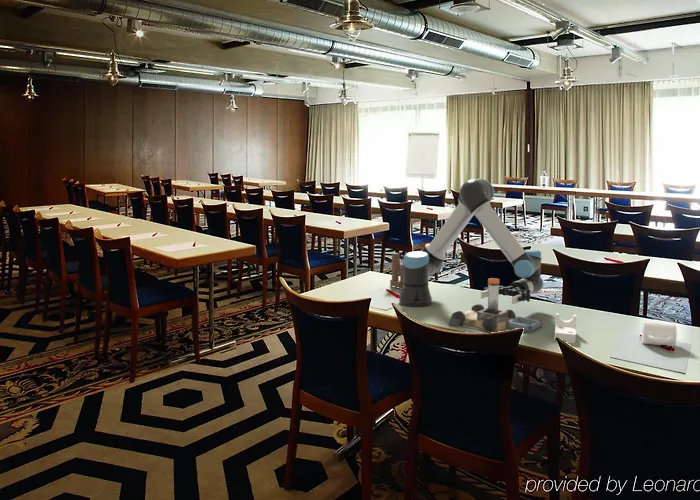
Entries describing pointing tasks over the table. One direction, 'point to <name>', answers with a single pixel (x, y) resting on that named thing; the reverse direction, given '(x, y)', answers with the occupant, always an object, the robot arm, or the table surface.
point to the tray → (524, 324)
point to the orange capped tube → (493, 295)
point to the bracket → (565, 329)
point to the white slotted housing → (659, 333)
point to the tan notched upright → (396, 272)
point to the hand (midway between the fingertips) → (496, 297)
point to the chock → (454, 322)
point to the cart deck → (478, 323)
